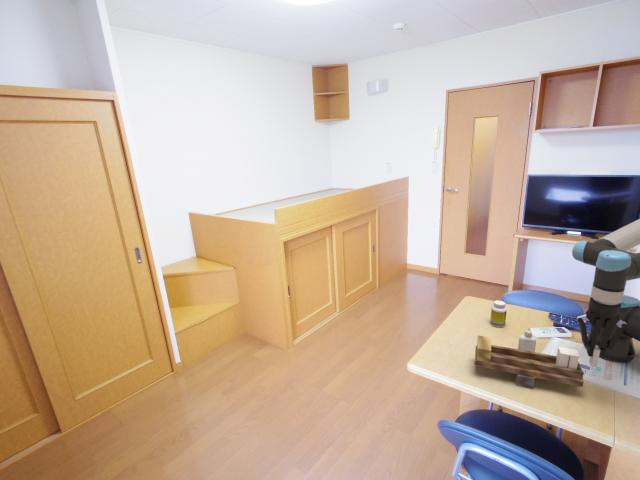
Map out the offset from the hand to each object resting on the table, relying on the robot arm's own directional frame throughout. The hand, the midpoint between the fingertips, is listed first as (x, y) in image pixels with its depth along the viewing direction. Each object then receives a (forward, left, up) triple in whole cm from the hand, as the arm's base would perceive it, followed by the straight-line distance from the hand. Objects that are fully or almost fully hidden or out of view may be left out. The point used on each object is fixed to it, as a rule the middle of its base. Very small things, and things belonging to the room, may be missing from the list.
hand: (592, 364), depth 110 cm
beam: (+19, 0, -10) cm, 21 cm away
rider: (+7, 0, -4) cm, 8 cm away
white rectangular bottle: (+17, -15, -10) cm, 24 cm away
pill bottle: (+26, -36, -10) cm, 46 cm away
